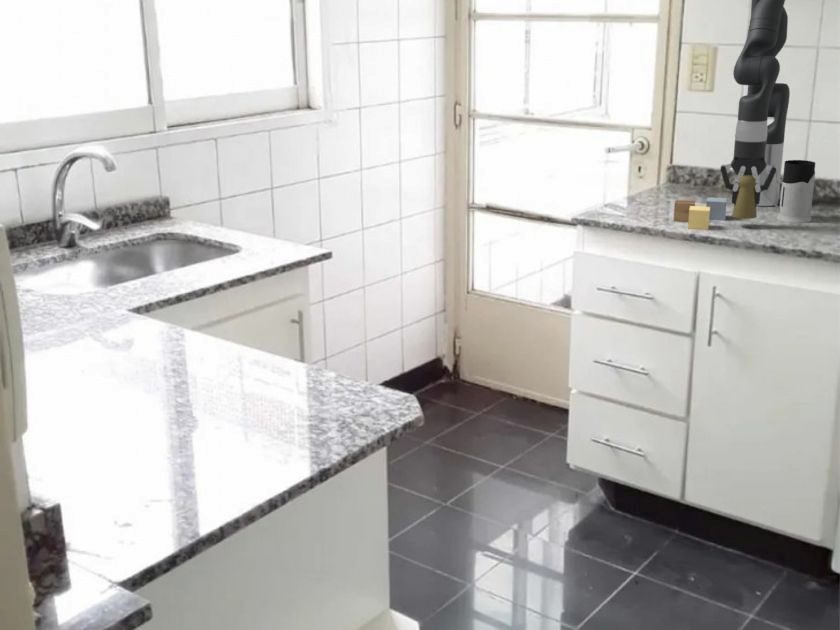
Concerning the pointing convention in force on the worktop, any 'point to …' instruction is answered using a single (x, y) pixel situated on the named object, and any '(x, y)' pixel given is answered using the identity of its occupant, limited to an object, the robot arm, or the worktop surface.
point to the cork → (745, 198)
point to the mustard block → (699, 217)
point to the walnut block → (682, 210)
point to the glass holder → (796, 191)
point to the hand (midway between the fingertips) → (745, 205)
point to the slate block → (717, 208)
